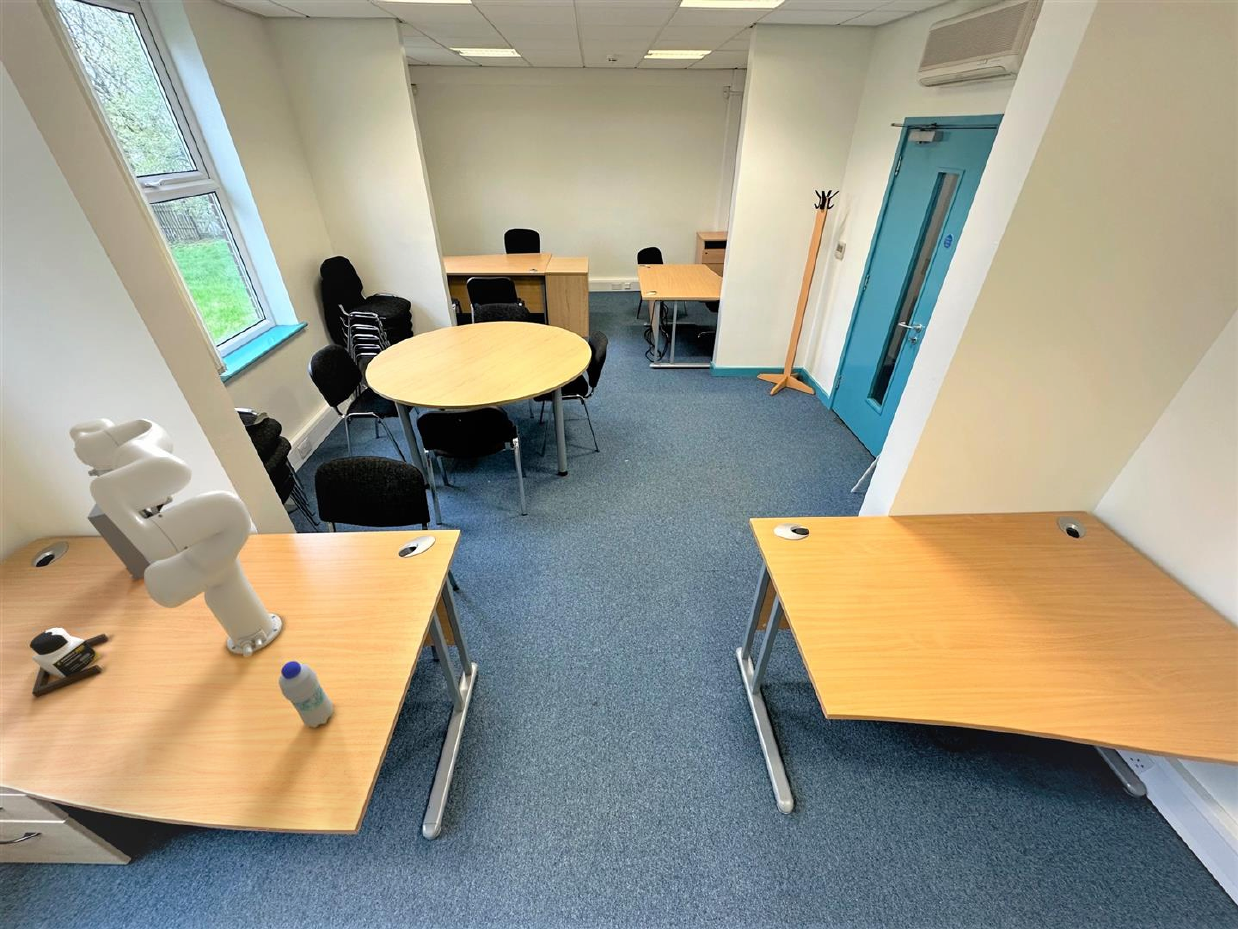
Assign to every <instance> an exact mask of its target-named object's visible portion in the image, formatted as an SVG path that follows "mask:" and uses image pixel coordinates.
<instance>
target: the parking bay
mask: <svg viewBox="0 0 1238 929" xmlns="http://www.w3.org/2000/svg"><path fill="white" fill-rule="evenodd" d="M84 640H85V641H86V642H87V643H88V644H89V645H90V646H91V647H92V648H93V647H96V646H99V645H100V644H104V643H106V642H109V641H108V640H109V637H108V636H107V635H106V634H105V633H101V634H99V635H96V636H93V637H91V638H88V639H84ZM102 670H103V669H102V668H101V667H100V666H99V665H98V664H94V665H92V666H90V667H86V668H85V669H84V670H82V671H80V672H77V673H74V674H72V675H69V676H67V677H64V678H59V679H57V680H54V681H52V682H49V679H50V676H51V675H50V674H49V673H48V672H46V671H45V670H44V669H43V668H42V667H41V666H40V665H39V670H38V673H37V676H36V679H35V682H34V686H33V687H32V688H33V689H32V691H31V694H32V695H33V696H34V697H36V699H38V698H40V697H43V696H46V695H48V694H51V693H53V692H56V691H58V690H61V689H63V688H66V687H68V686H71V685H73V684H76V683H78V682H80V681H83V680H86V679H88V678H91V677H94V676H96V675H99V674H101V673H102Z"/></svg>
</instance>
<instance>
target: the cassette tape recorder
mask: <svg viewBox="0 0 1238 929" xmlns="http://www.w3.org/2000/svg"><path fill="white" fill-rule="evenodd" d="M86 518H87V520H88V521H89V522H90V523H91V525H92V526H93V528H94V529H95V530H96V531H97V532H98V533H99V534H100V536H101V537H102V538H103V540H104V541H105V542H106V543H107V545H108V546H109V547H110V548H111V550H112V551H113V552H114V554H115V555H116V556H117V557H118V558H119V560H120V561H121V563H123V565H124V566H125V569H126V570H127V571H128V573H129V574H130V575H132V576H131V579H132V581H135V580H139V579H142V578H144V571H145V570H146V568H147V567H149V566H150V565H151V564H153V563H155V562H156V561H158V560H152V559H149V558H147V557H146V556H144V555H143V554H142V553H141V552H140V551H139V550H138V549H137V548H136V547H135V546H134V545H133V544H132V543H131V541H130V540H129V539H128V538H127V537H126V536H125V535H124V534H123V533H122V531H121V530H120V529H119V528H118V527H117V526H116V525H115V524H114V523H113V522H112V521H111V520H110V519H109V518H108V516H107V515H106V514H105V513H104V512H103V511H102V510H101V508H100V507H99V506H98V505H97V503H96V502H95V504H94V506H93V508H92V509H91V511H90V512H89V514H88V515H87V517H86Z"/></svg>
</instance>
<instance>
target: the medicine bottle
mask: <svg viewBox="0 0 1238 929" xmlns="http://www.w3.org/2000/svg"><path fill="white" fill-rule="evenodd" d="M85 640H86V639H83V638H79V637H75V636H71V635H70V634H69V633H68V632H67V631H66V630H65V629H64V628H62V627H53V628H50V629H46V630H44V631H42V632H41V633H39V634H37V635H36V636H35V637H34V638H32V640H31V641H30V643H29V647H30V648H31V649H32V651H34V653H35V655H32V657H31V659H32V661H34V662H35V663H36V664H38V665H39V667H40V666H41V667H42V668H43V669H44V670H45V671H46V672H48V673H49V674H50V676H54V677H58V678H60V679H62V678H64V677H67V676H69V675H72V674H74V673H77V672H80V671H82V670H85V669H87V668H88V667H89V666H90V665H91V664H93V663H95V661H96V660H98V659H99V658H100V657H101V655H100V654H99V653H98V652H97V651H96V650H95V649H94V648H93V647H91V646H90V645H89V644H88V643H87V642H86V641H85Z"/></svg>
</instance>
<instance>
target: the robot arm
mask: <svg viewBox="0 0 1238 929" xmlns="http://www.w3.org/2000/svg"><path fill="white" fill-rule="evenodd" d="M69 436H70V437H71V439H72V441H73V442H74V447H73V451H74V453H75V454H76V457H77V458H78V460H80V461H81V463H82V464H84V465H86V466H89V467H91V468H93V469H91V470H88V471H87V474H88V475H89V476H90V477H93V476H95V478H93V480H92V481H91V482H90V485H89V492H90V495H91V497H92V499H93V501H94V502H95V504H96V503H97V505H98V506H99V507H100V508H101V510H102V511H103V512H104V513H105V514H106V515H107V516H108V518H109V519H110V520H111V521H112V522H113V523H114V524H115V525H116V526H117V527H118V528H119V529H120V530H121V531H122V533H123V534H124V535H125V536H126V537H127V538H128V539H129V540H130V541H131V543H132V544H133V545H134V546H135V547H136V548H137V549H138V550H139V551H140V552H141V553H142V554H143V555H144V556H146V557H147V558H149V559H152V560H158V561H156V562H155V563H153V564H151V565H150V566H149V567H147V568H146V570H145V571H144V577H143V580H144V587H145V590H146V592H147V594H148V595H149V597H150V598H151V600H152V601H154V602H155V603H156V604H158V605H159V606H161V607H164V608H167V609H174V608H178V607H180V606H182V605H184V604H185V603H188V602H189V601H191V600H192V599H194V598H196V597H198V596H200V595H201V594H203V597H204V602H205V604H206V606H207V607H208V608H209V610H210V611H211V613H212V614H213V615H214V617H215V619H216V620H217V621H218V622H219V624H220V625H221V627H222V628H223V629H224V631H225V632H226V634H227V635H228V637H227V640H226V646H227V649H228V650H229V651H230V652H231V653H233V654H236V655H242V656H243V657H244V658H249V657H251V656H253V653H254V652H256V651H258V650H261V649H263V648H264V647H266V646H267V645H269V644H270V643H271V642H273V641H274V640H275V639H276V638H277V637H278V635H279V634H280V632H281V630H282V626H283V621H282V620H281V618H280V617H279V616H278V615H277V614H275V613H269V612H268V610H267V608H266V607H265V605H264V603H263V602H262V600H261V599H260V597H259V595H258V594H257V592H256V590H255V589H254V587H253V586H252V584H251V582H250V580H249V579H248V577H247V575H246V573H245V571H244V569H243V566H242V563H241V560H240V557H239V554H240V552H241V551H242V549H243V548H244V546H245V545H246V543H247V542H248V539H249V537H250V534H251V529H252V528H251V527H252V524H251V522H252V521H251V516H250V512H249V509H248V508H247V505H246V504H245V503H244V501H243V500H242V499H241V497H239V496H238V495H237V494H235V493H233V492H231V491H228V490H213V491H207V492H204V493H201V494H199V495H196V496H193V497H191V498H189V499H187V500H184V501H182V502H179V503H178V504H175V505H173V506H171V507H169V508H167V509H165V510H162V509H163V507H164V506H167V505H169V504H171V503H172V502H173V500H174V499H173V497H172V495H175V494H177V493H178V492H180V491H181V490H183V489H185V488H186V487H187V485H188V484H189V483H190V481H191V479H192V476H193V475H192V474H193V473H192V470H191V467H190V466H189V464H188V463H187V462H186V461H184V460H183V459H181V458H180V457H178V456H176V455H174V454H172V453H173V451H174V444H173V441H172V439H171V437H170V435H169V434H168V432H166V430H165V429H164V428H163V427H161V425H159V424H157V423H156V422H154V421H151V420H149V419H147V418H146V419H145V418H135V419H130V420H127V421H124V422H121V423H118V424H115V423H114V422H113V421H111V420H109V419H107V418H92V419H89V420H84V421H82V422H79V423H77V424H75V425H73V426H72V427H71V428H70V429H69ZM148 509H150V510H148ZM161 510H162V511H161Z"/></svg>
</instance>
